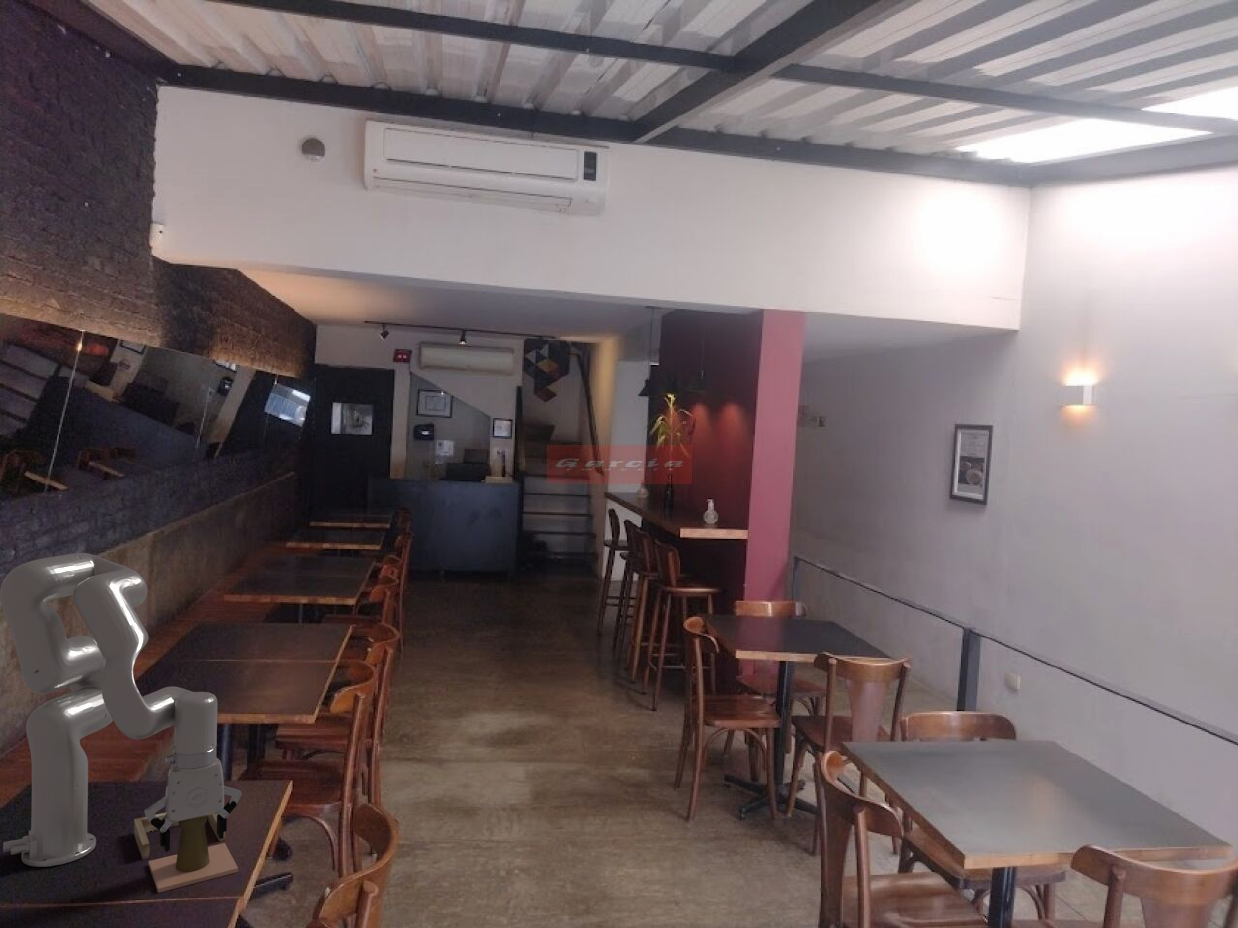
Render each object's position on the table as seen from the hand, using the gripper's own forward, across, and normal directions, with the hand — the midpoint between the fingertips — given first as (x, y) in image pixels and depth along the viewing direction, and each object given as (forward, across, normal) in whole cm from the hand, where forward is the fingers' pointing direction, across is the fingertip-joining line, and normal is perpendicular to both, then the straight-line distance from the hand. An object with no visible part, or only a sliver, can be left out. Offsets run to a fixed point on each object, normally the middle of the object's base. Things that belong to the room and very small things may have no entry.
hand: (193, 842), depth 167 cm
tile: (+5, 0, 0) cm, 5 cm away
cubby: (+5, 0, +15) cm, 16 cm away
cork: (+5, 0, 0) cm, 5 cm away
